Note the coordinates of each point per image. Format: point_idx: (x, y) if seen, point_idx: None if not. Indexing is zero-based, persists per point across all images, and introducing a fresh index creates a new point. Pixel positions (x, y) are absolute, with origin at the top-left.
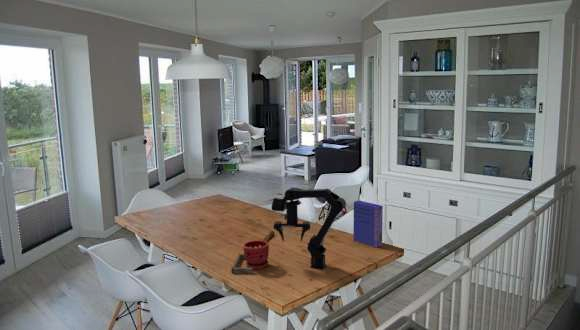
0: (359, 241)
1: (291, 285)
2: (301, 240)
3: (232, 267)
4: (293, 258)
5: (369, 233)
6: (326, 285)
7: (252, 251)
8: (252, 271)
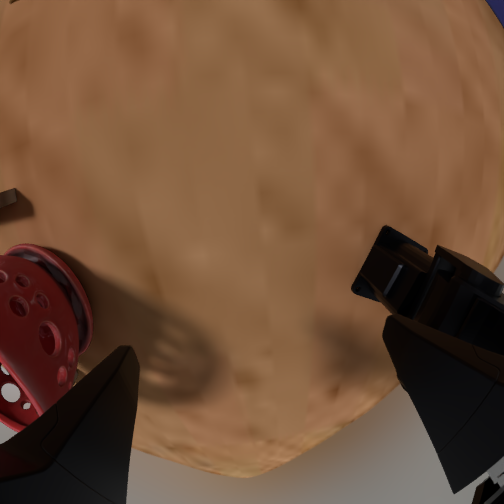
0: (493, 7)
1: (262, 433)
2: (396, 350)
3: (6, 369)
4: (232, 139)
5: None
6: (374, 405)
7: (24, 420)
8: (74, 380)
